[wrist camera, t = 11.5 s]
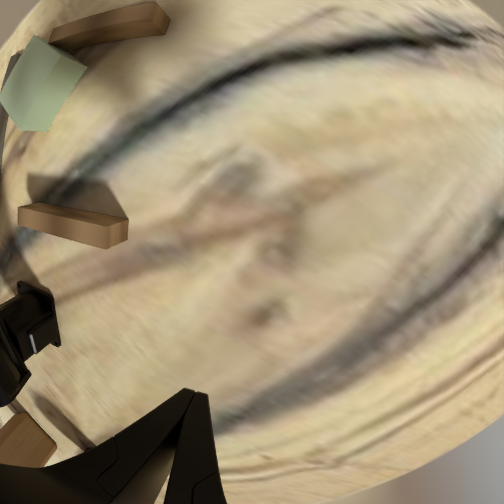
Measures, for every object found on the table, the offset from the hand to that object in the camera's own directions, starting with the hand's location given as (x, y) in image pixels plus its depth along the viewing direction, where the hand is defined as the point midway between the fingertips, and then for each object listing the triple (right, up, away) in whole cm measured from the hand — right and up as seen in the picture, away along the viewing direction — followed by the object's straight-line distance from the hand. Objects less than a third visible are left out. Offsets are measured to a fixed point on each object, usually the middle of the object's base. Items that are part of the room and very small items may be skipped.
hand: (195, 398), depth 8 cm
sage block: (-17, +21, +9) cm, 29 cm away
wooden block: (-43, -32, +26) cm, 59 cm away
